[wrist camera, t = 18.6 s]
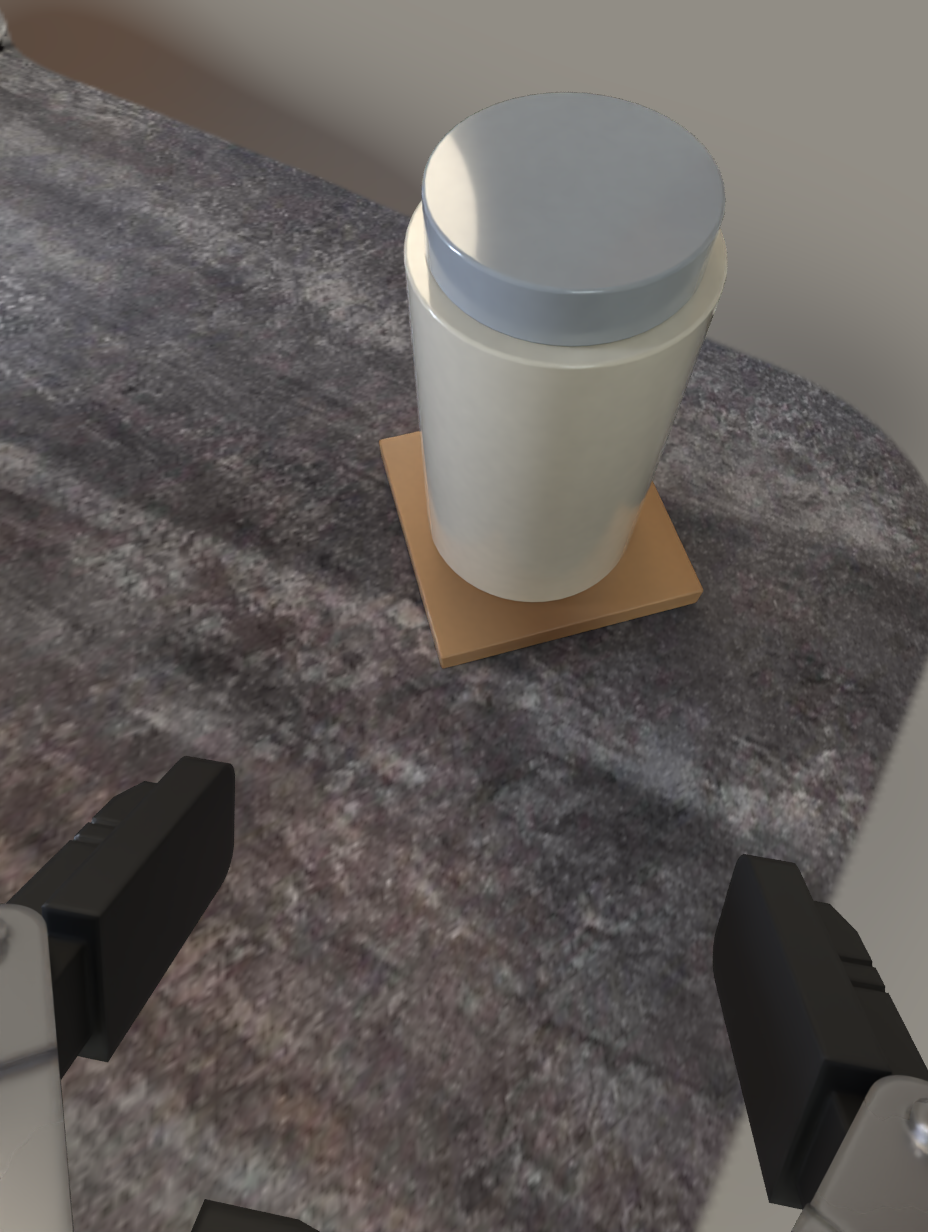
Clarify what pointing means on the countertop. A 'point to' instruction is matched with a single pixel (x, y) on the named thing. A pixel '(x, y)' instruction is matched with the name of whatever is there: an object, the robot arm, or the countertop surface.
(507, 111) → the jar with grey lid
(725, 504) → the countertop surface
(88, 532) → the countertop surface
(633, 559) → the trivet
